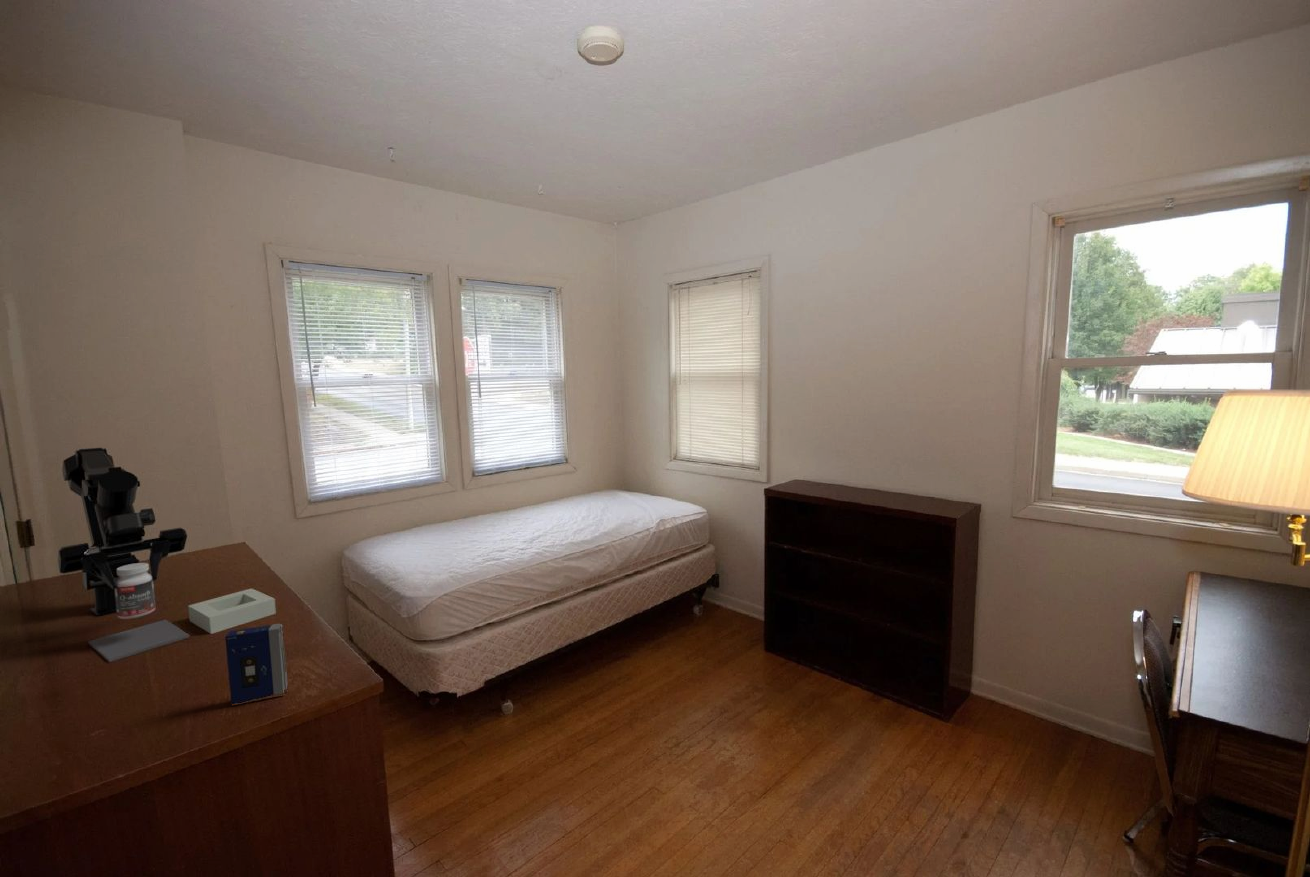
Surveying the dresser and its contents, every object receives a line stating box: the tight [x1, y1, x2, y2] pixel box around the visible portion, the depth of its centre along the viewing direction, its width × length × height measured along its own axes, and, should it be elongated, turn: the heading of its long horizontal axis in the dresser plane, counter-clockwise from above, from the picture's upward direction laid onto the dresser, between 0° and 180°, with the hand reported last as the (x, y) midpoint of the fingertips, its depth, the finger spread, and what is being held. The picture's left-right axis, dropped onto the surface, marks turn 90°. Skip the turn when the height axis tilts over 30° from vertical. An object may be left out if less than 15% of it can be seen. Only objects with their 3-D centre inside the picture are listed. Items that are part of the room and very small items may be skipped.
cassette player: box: [224, 622, 289, 705], centre depth 90 cm, size 7×2×12 cm, turn 114°
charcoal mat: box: [88, 619, 190, 663], centre depth 111 cm, size 14×12×1 cm
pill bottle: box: [115, 562, 156, 620], centre depth 110 cm, size 6×6×10 cm
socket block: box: [187, 588, 277, 635], centre depth 122 cm, size 12×12×4 cm
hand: (135, 583), depth 109 cm, fingers closed on pill bottle, 6 cm apart
